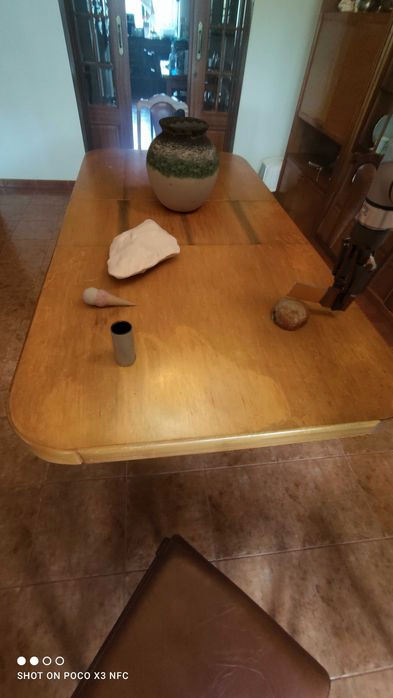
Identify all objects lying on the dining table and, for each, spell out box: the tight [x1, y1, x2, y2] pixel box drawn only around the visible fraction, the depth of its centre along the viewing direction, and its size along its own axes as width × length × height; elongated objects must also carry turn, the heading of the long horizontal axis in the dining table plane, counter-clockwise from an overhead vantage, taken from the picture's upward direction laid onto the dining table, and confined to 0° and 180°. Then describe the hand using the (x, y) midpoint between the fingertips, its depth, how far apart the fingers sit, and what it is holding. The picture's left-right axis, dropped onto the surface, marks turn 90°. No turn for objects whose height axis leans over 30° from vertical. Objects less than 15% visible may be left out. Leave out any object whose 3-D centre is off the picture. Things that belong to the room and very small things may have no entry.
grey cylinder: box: [109, 320, 137, 367], centre depth 71 cm, size 4×4×10 cm
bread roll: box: [270, 296, 311, 331], centre depth 87 cm, size 10×10×8 cm
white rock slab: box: [107, 218, 181, 280], centre depth 101 cm, size 24×35×9 cm
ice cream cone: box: [82, 287, 139, 308], centre depth 86 cm, size 5×5×15 cm
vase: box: [145, 115, 220, 213], centre depth 124 cm, size 28×28×30 cm
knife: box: [286, 280, 357, 312], centre depth 84 cm, size 19×2×5 cm, turn 99°
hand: (333, 306), depth 87 cm, fingers closed on knife, 2 cm apart
